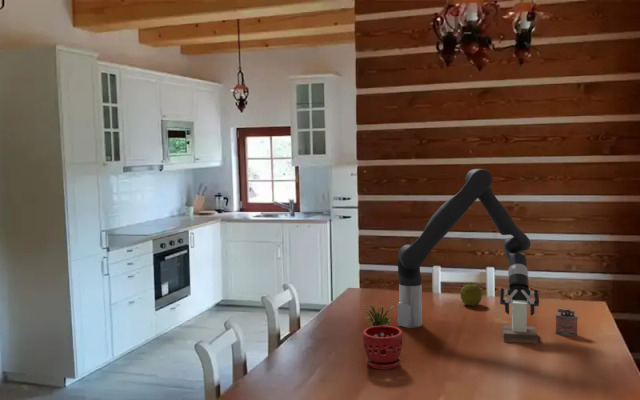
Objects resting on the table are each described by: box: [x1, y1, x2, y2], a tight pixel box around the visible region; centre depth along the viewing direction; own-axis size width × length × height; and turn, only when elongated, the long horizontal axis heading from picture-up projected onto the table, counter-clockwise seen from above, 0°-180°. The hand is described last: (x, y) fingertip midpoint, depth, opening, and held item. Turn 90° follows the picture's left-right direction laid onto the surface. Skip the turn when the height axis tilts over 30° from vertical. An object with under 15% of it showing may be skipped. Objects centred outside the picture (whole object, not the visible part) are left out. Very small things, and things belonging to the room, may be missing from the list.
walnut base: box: [501, 324, 538, 344], centre depth 234 cm, size 12×12×3 cm
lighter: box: [554, 308, 579, 337], centre depth 237 cm, size 8×3×10 cm, turn 65°
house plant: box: [360, 301, 396, 337], centre depth 228 cm, size 14×14×16 cm
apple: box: [460, 281, 483, 307], centre depth 284 cm, size 10×10×11 cm
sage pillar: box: [511, 300, 528, 332], centre depth 234 cm, size 5×5×11 cm
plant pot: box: [362, 325, 403, 370], centre depth 206 cm, size 13×13×12 cm
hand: (519, 313), depth 232 cm, fingers open, 8 cm apart
